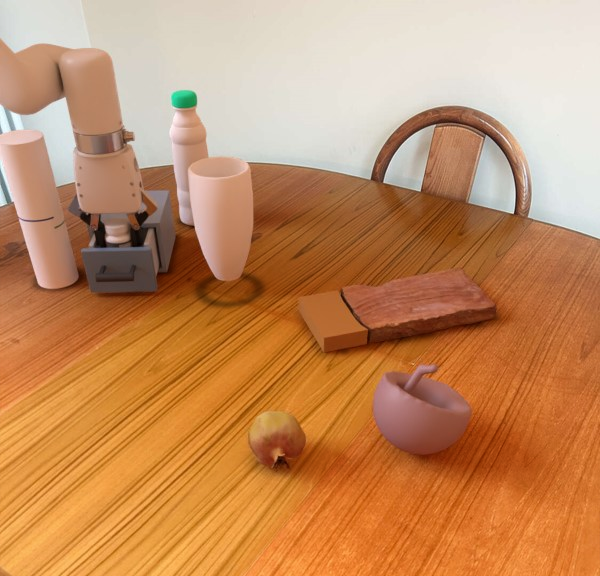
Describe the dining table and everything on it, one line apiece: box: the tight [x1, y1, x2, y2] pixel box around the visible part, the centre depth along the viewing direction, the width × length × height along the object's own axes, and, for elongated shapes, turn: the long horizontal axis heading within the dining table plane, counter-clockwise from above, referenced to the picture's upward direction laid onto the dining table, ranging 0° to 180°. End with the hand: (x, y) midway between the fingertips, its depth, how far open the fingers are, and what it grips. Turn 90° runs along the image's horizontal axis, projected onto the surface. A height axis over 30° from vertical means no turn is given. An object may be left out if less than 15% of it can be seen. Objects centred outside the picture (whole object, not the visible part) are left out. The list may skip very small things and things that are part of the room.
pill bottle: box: [104, 218, 133, 248], centre depth 112 cm, size 5×5×8 cm
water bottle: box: [169, 89, 210, 227], centre depth 129 cm, size 7×7×25 cm
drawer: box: [80, 227, 161, 294], centre depth 114 cm, size 18×11×8 cm, turn 2°
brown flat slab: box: [298, 267, 498, 353], centre depth 107 cm, size 13×30×3 cm, turn 108°
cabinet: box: [86, 189, 177, 273], centre depth 122 cm, size 15×13×10 cm
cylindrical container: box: [0, 128, 80, 290], centre depth 110 cm, size 7×7×25 cm
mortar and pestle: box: [372, 363, 472, 456], centre depth 81 cm, size 12×12×12 cm
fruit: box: [247, 410, 307, 473], centre depth 81 cm, size 7×7×10 cm
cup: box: [188, 156, 254, 282], centre depth 108 cm, size 10×10×22 cm
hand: (120, 247), depth 112 cm, fingers closed on pill bottle, 4 cm apart
